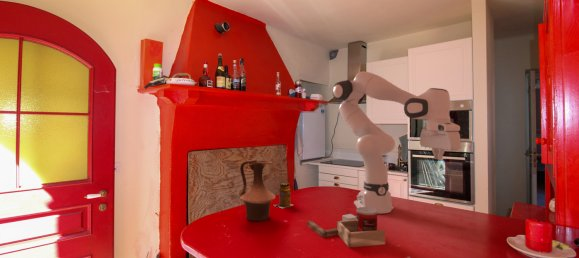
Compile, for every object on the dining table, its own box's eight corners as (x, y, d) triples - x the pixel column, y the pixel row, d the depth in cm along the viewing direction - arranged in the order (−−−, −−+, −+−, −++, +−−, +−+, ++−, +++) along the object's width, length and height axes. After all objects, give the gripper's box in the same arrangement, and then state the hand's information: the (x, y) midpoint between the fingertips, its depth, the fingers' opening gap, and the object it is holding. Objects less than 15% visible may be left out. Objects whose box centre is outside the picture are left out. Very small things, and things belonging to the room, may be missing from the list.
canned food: (363, 232, 114) (363, 205, 113) (381, 238, 107) (381, 210, 107) (352, 237, 109) (352, 209, 108) (370, 244, 103) (369, 214, 102)
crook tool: (307, 225, 122) (307, 221, 122) (321, 223, 125) (321, 219, 125) (322, 237, 109) (322, 232, 109) (337, 234, 112) (337, 230, 112)
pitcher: (236, 224, 124) (235, 162, 124) (241, 212, 141) (240, 157, 141) (275, 223, 125) (274, 161, 124) (276, 211, 142) (275, 157, 141)
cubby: (337, 233, 113) (336, 221, 113) (369, 230, 115) (369, 218, 115) (348, 247, 100) (348, 233, 100) (385, 244, 102) (384, 230, 102)
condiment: (293, 205, 153) (293, 183, 152) (282, 208, 147) (282, 186, 146) (284, 202, 158) (284, 181, 158) (273, 206, 152) (273, 184, 152)
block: (342, 225, 122) (342, 215, 122) (350, 223, 124) (350, 213, 123) (348, 229, 118) (348, 218, 118) (357, 227, 119) (357, 216, 119)
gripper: (416, 126, 126) (416, 156, 127) (448, 126, 106) (448, 162, 106) (428, 126, 127) (428, 156, 128) (463, 126, 107) (463, 162, 107)
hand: (438, 159), depth 117 cm, fingers closed
